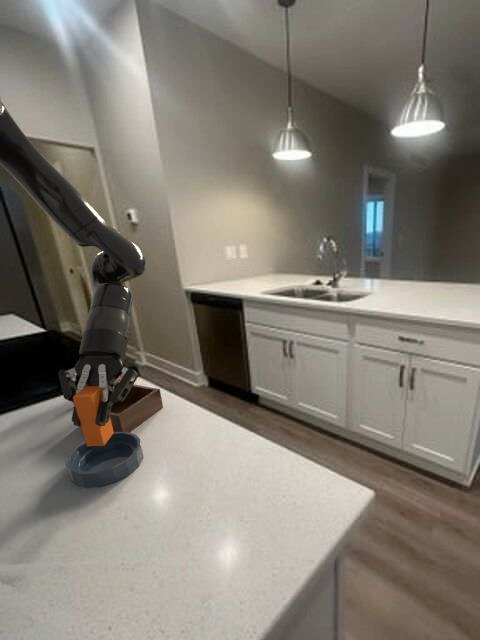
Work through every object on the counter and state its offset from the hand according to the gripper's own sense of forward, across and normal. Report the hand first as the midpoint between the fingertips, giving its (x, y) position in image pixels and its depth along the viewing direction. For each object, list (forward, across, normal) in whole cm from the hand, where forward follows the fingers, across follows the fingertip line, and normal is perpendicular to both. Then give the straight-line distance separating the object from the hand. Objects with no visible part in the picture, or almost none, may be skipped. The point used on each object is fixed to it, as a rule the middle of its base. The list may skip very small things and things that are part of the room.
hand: (89, 425), depth 59 cm
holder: (-6, -4, +21) cm, 22 cm away
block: (+2, 0, +5) cm, 5 cm away
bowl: (+6, 0, +9) cm, 11 cm away
